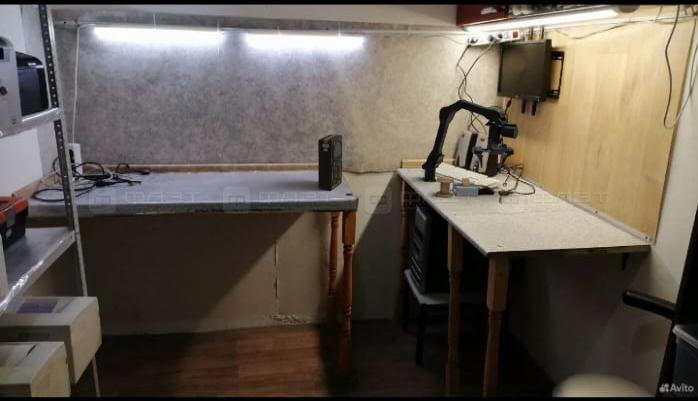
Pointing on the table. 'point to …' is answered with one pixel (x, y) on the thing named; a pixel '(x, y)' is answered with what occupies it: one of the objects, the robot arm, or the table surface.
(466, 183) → the brown wooden block
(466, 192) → the bracket
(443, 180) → the tan door knob
